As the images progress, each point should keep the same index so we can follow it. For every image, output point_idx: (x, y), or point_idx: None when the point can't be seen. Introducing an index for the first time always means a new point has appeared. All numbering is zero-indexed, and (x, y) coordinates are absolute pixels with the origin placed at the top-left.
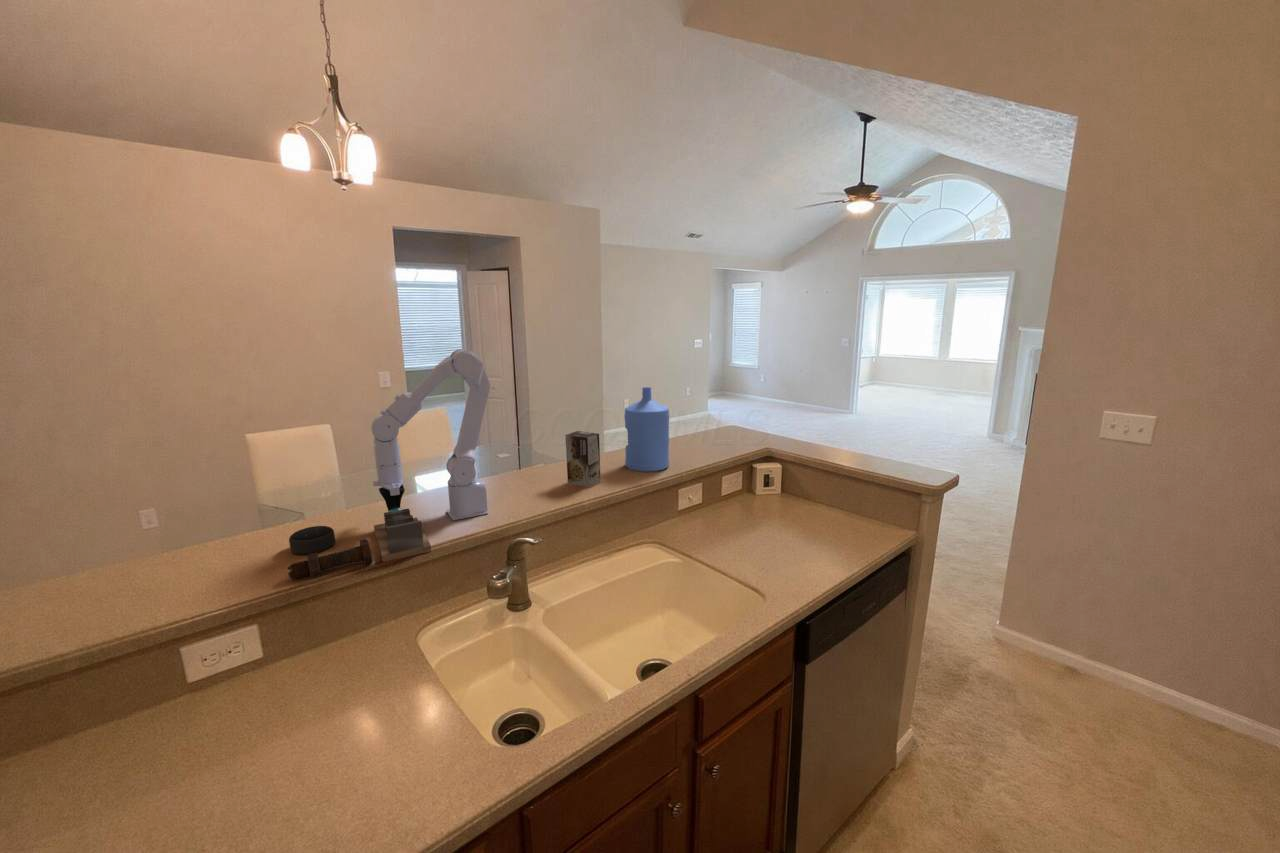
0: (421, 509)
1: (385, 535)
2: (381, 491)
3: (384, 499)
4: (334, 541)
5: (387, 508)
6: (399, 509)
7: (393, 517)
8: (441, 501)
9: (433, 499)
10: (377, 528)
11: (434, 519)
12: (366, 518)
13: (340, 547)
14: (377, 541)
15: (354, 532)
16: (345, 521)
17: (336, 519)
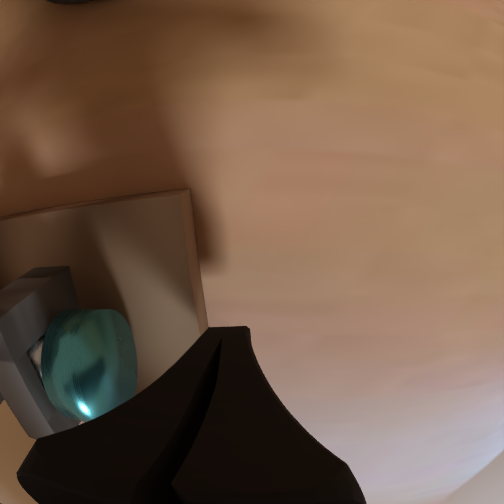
0: (401, 411)
1: (11, 260)
2: (49, 490)
3: (103, 415)
4: (75, 1)
5: (235, 348)
6: (63, 414)
7: (34, 349)
8: (428, 454)
9: (469, 430)
10: (109, 219)
11: None
12: (456, 154)
13: (46, 44)
14: (27, 212)
15: (230, 67)
16: (456, 45)
17: (494, 23)
